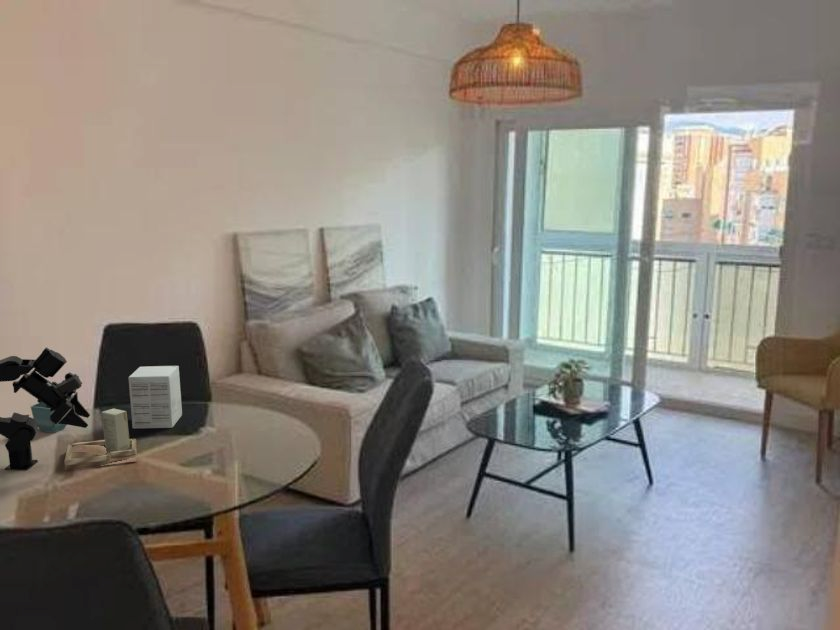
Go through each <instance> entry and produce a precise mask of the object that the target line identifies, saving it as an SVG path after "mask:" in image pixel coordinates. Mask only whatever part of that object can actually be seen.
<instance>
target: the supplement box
mask: <svg viewBox="0 0 840 630" xmlns="http://www.w3.org/2000/svg"><path fill="white" fill-rule="evenodd" d="M179 369H180V366H179V365H157V366H156V365H153V366H149V365H148V366H139V367H137V369H136V370H135V371H133V372H132V374H130V375H129V376H128V388H129V399H130V400H129V401H130V411H131V412H130V414H131V424H132V425H131V427H132V429H172V428H173V427H175V425H176V423H177V422H178V421H179V419H180V418H181V417H182V416H183V409H182V407H183V405H182V394H181V393H182V392H181V380H180V378H181V377H180V370H179Z"/></svg>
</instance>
